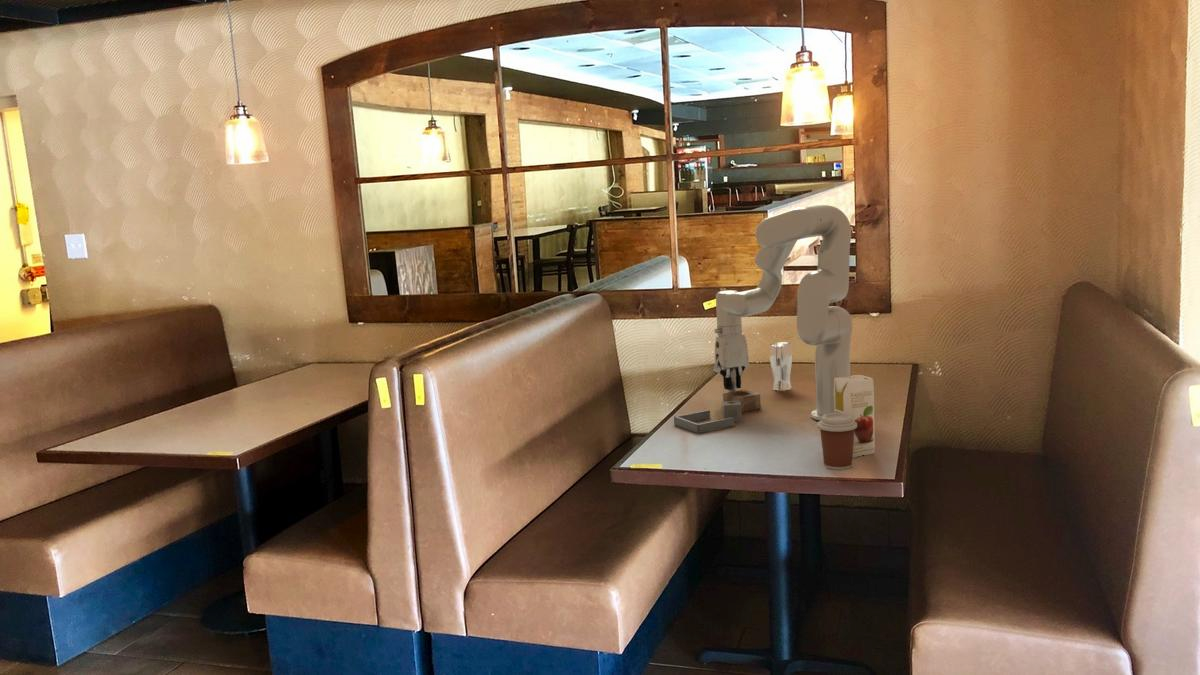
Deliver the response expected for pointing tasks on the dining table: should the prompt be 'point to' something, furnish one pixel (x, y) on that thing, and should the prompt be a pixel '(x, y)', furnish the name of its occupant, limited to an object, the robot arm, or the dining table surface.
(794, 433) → the dining table surface
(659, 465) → the dining table surface
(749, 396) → the walnut block
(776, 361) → the beer glass
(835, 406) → the juice carton
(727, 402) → the dice cube
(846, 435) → the coffee cup
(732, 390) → the steel pin
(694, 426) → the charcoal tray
